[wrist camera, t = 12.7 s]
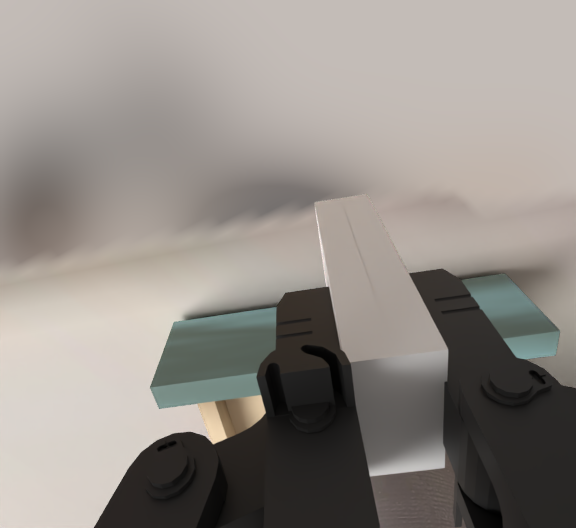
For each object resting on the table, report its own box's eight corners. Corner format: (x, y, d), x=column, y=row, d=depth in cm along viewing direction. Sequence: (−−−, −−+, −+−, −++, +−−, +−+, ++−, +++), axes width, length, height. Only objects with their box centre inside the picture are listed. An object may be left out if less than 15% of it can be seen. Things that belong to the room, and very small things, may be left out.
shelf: (483, 502, 28) (515, 576, 24) (248, 529, 29) (243, 605, 25) (504, 273, 20) (560, 330, 16) (174, 322, 21) (149, 387, 17)
